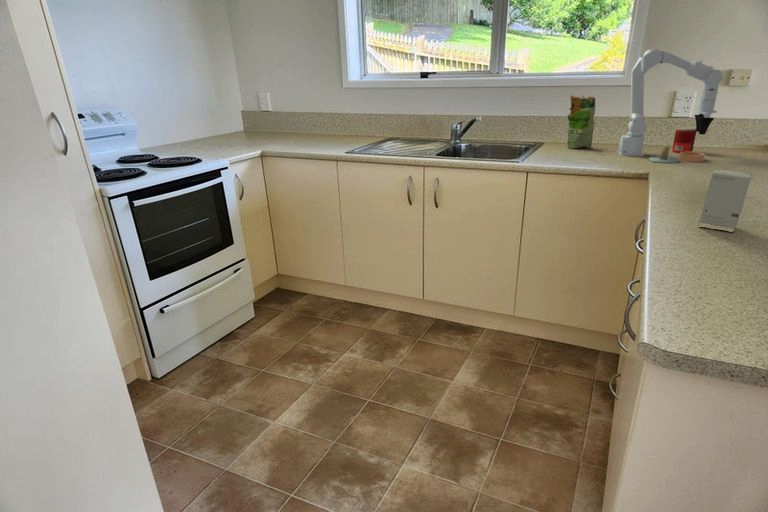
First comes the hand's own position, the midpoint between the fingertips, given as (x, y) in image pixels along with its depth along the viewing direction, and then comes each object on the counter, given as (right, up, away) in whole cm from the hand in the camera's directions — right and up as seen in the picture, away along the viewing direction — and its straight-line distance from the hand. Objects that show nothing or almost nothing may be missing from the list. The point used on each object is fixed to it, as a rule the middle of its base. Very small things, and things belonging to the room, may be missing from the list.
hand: (700, 132), depth 208 cm
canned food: (-1, -6, +12) cm, 13 cm away
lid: (-18, -13, -4) cm, 22 cm away
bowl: (-7, -13, -4) cm, 15 cm away
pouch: (-40, +1, +32) cm, 51 cm away
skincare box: (-47, -46, -79) cm, 103 cm away
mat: (-18, -13, -3) cm, 22 cm away
